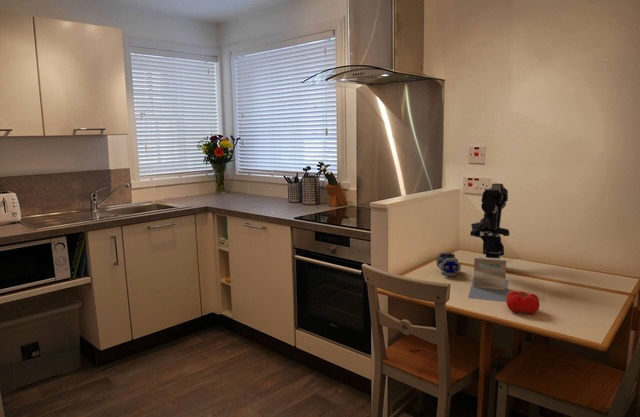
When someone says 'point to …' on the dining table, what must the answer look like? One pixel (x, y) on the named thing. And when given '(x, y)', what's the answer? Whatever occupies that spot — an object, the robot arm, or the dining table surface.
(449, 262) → the toy
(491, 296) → the mat
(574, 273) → the dining table surface
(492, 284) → the board
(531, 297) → the tomato
